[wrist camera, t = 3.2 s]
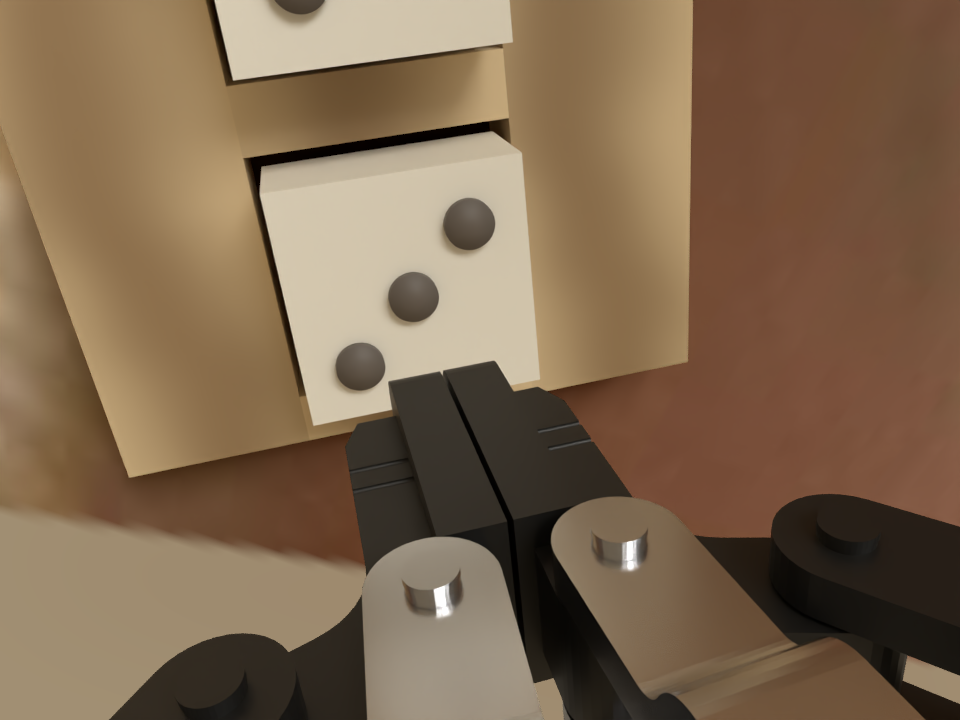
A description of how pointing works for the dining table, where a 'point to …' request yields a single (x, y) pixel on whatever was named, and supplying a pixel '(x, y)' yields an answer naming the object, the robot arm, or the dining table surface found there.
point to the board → (321, 122)
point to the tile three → (402, 266)
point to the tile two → (352, 31)
